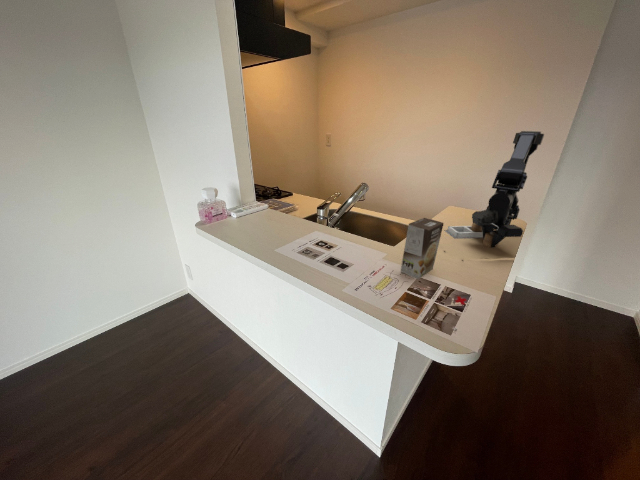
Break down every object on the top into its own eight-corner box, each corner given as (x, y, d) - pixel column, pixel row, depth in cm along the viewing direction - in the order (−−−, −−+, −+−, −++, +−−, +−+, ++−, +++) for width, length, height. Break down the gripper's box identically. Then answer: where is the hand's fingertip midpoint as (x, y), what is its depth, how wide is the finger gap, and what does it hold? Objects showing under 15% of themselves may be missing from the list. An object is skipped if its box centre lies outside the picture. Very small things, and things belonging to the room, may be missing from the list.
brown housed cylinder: (476, 231, 107) (480, 218, 105) (483, 235, 104) (487, 221, 101) (467, 231, 107) (471, 218, 104) (473, 235, 103) (477, 221, 101)
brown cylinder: (489, 244, 99) (494, 230, 96) (496, 249, 95) (501, 234, 92) (479, 244, 98) (483, 230, 96) (486, 249, 95) (491, 234, 92)
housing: (479, 231, 110) (481, 225, 109) (492, 239, 102) (494, 233, 101) (443, 232, 109) (444, 225, 107) (454, 240, 101) (455, 233, 100)
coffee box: (418, 280, 76) (428, 230, 69) (399, 271, 80) (407, 223, 73) (433, 269, 81) (444, 222, 75) (415, 262, 86) (423, 216, 79)
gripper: (464, 197, 97) (454, 234, 104) (498, 213, 81) (484, 256, 87) (491, 196, 98) (480, 234, 105) (531, 212, 81) (515, 256, 88)
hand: (488, 244), depth 96 cm, fingers closed on brown cylinder, 4 cm apart
